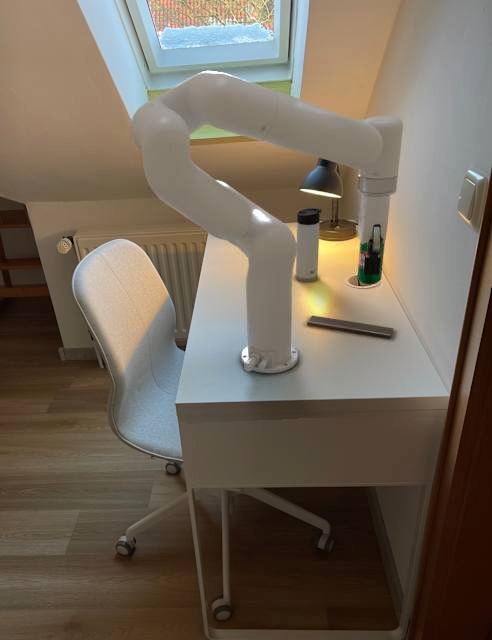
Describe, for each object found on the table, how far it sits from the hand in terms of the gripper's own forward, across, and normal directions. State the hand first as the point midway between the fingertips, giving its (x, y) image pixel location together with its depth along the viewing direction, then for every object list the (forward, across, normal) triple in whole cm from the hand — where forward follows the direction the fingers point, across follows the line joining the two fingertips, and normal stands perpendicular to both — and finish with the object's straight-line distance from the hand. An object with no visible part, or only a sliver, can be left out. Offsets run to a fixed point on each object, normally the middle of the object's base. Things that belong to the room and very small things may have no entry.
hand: (369, 268), depth 119 cm
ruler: (+17, -5, -3) cm, 18 cm away
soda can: (+3, 0, 0) cm, 3 cm away
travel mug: (+18, -35, -13) cm, 42 cm away
